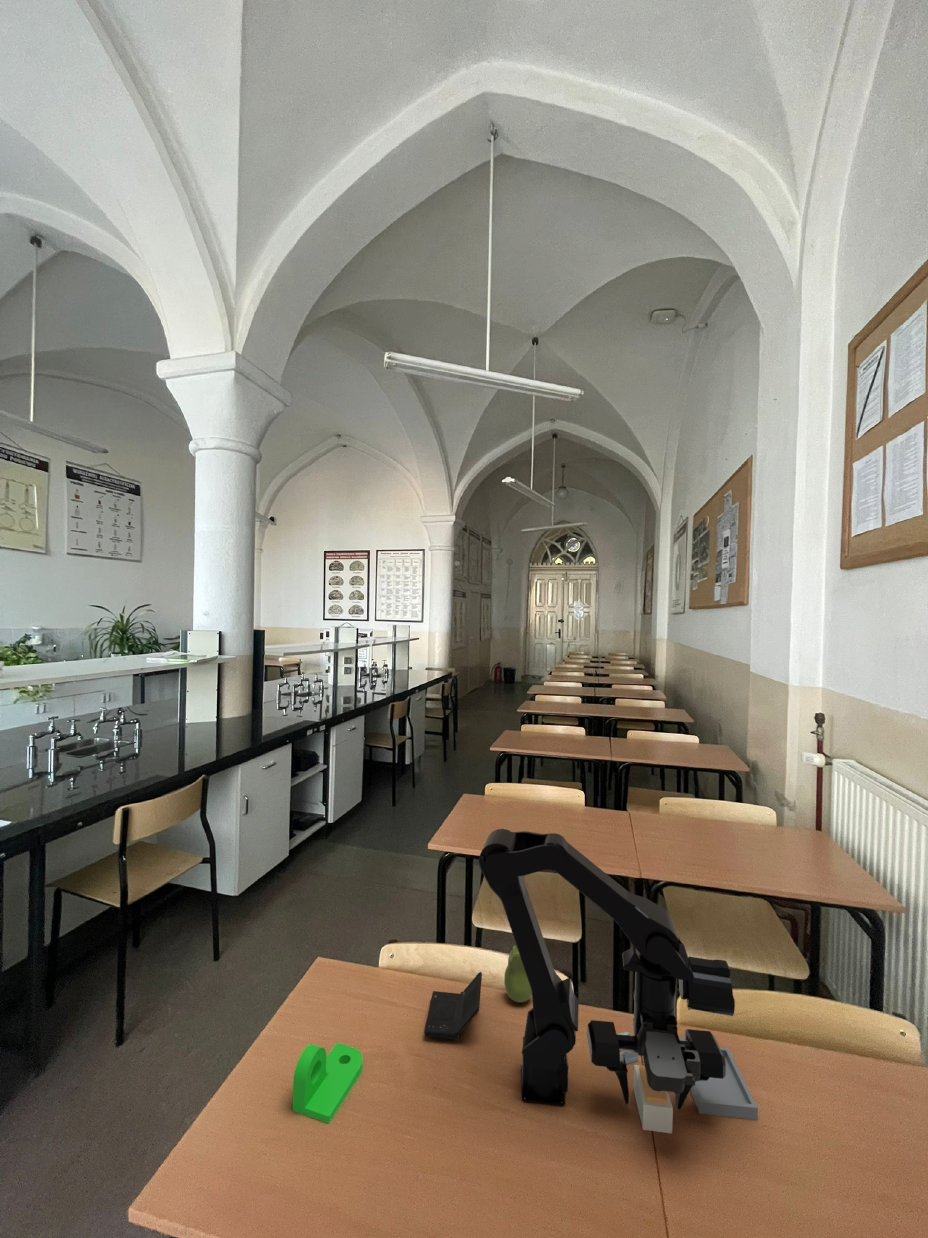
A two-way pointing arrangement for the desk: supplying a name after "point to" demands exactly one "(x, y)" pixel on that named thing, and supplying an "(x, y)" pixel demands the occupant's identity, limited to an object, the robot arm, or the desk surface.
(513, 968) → the pear
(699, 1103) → the grey rectangular tray
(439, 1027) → the handheld gaming console
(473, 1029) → the desk surface
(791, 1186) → the desk surface
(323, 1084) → the mechanical part
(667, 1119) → the white orange block
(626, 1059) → the clip
